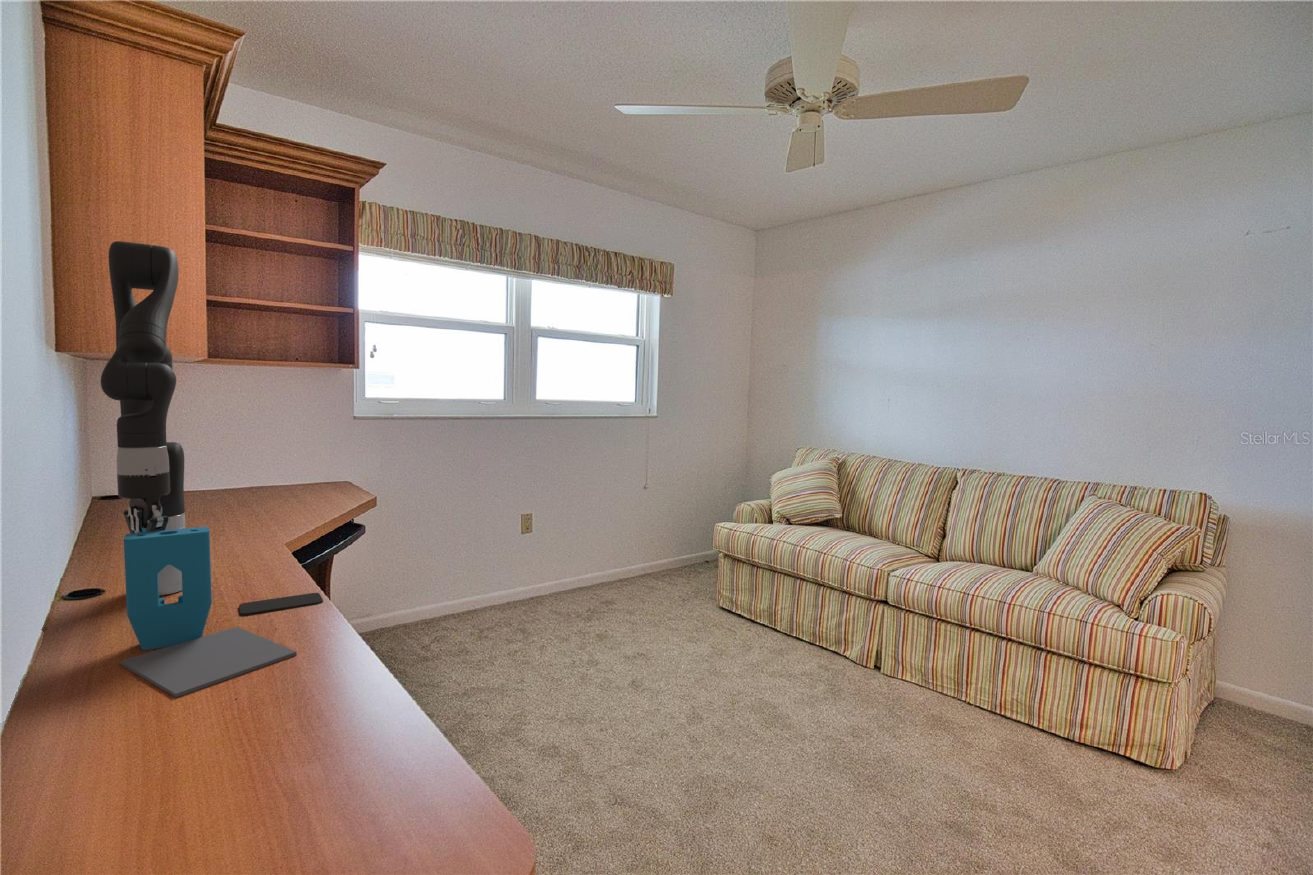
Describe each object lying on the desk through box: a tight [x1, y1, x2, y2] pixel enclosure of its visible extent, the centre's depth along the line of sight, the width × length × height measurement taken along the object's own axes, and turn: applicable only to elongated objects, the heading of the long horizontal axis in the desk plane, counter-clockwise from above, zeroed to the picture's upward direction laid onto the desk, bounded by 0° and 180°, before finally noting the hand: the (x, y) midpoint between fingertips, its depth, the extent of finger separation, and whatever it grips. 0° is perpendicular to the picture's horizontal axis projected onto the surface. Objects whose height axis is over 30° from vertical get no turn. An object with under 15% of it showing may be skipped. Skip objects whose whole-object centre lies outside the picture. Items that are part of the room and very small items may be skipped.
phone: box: [238, 592, 324, 617], centre depth 133 cm, size 7×1×15 cm
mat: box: [119, 626, 298, 698], centre depth 106 cm, size 20×18×1 cm
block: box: [123, 526, 213, 651], centre depth 113 cm, size 12×5×20 cm, turn 126°
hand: (147, 562), depth 117 cm, fingers closed
